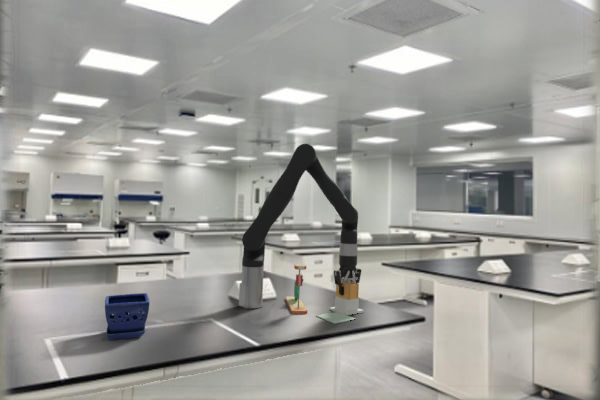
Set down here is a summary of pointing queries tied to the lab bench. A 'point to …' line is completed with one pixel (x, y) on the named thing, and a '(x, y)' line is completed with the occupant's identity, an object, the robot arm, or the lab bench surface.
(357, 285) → the cardboard box
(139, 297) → the flower pot
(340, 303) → the stand
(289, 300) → the crank mechanism
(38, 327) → the lab bench surface
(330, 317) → the mat
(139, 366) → the lab bench surface
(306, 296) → the lab bench surface
